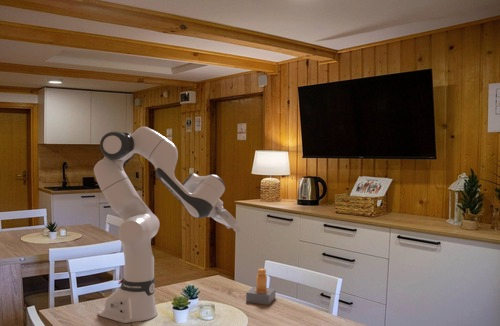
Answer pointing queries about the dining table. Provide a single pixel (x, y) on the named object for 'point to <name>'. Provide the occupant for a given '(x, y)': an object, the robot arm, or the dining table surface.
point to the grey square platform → (260, 296)
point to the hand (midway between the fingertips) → (234, 229)
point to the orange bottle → (261, 280)
